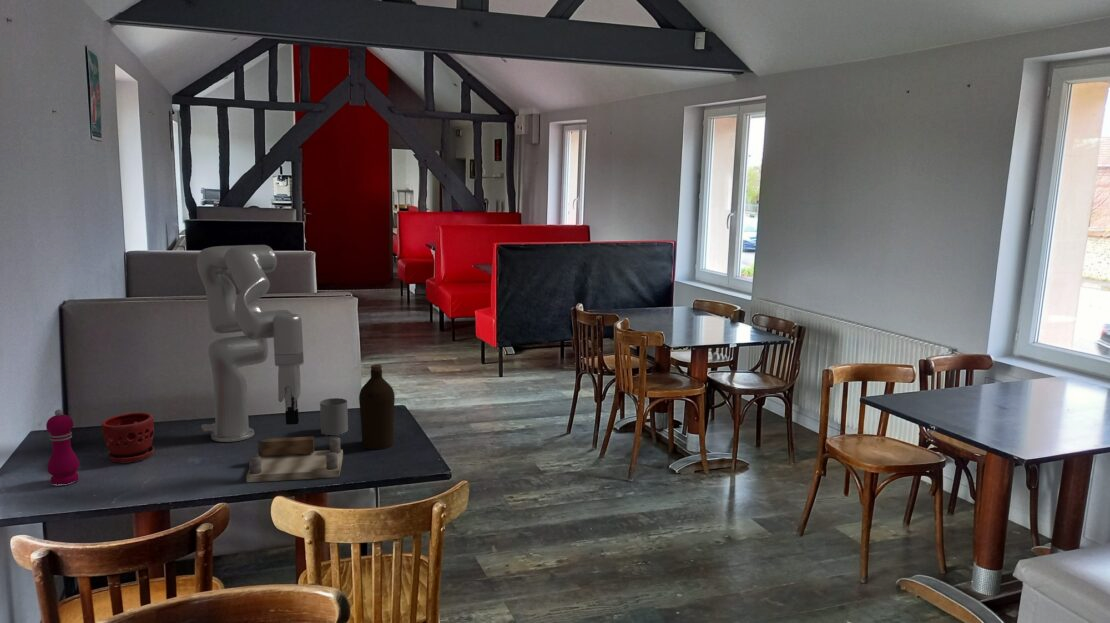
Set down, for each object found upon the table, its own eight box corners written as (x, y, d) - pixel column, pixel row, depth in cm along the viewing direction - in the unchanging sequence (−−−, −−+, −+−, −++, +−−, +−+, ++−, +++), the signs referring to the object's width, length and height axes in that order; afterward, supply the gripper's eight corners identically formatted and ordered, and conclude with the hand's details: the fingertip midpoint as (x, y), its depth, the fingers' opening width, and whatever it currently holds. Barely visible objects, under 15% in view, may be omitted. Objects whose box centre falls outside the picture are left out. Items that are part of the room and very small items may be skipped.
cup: (319, 429, 255) (318, 399, 254) (345, 426, 259) (344, 397, 257) (323, 437, 248) (322, 406, 246) (349, 433, 251) (349, 403, 250)
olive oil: (397, 448, 238) (396, 368, 234) (361, 451, 235) (359, 370, 231) (393, 437, 248) (391, 360, 244) (358, 440, 245) (356, 362, 241)
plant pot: (141, 447, 236) (138, 409, 234) (164, 456, 228) (162, 417, 226) (95, 459, 225) (92, 419, 223) (118, 469, 218) (115, 428, 216)
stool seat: (246, 482, 210) (245, 461, 209) (257, 460, 226) (256, 440, 225) (339, 477, 215) (338, 456, 214) (343, 455, 231) (342, 436, 230)
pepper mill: (46, 489, 203) (39, 414, 200) (51, 479, 210) (44, 407, 207) (78, 485, 206) (72, 411, 203) (82, 475, 213) (76, 404, 209)
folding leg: (257, 455, 222) (256, 442, 222) (259, 452, 225) (258, 439, 225) (313, 453, 226) (312, 439, 225) (314, 449, 229) (313, 436, 228)
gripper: (278, 354, 221) (281, 417, 224) (270, 365, 206) (274, 432, 209) (306, 353, 222) (309, 415, 225) (300, 363, 208) (303, 430, 211)
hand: (292, 423), depth 217 cm, fingers closed
